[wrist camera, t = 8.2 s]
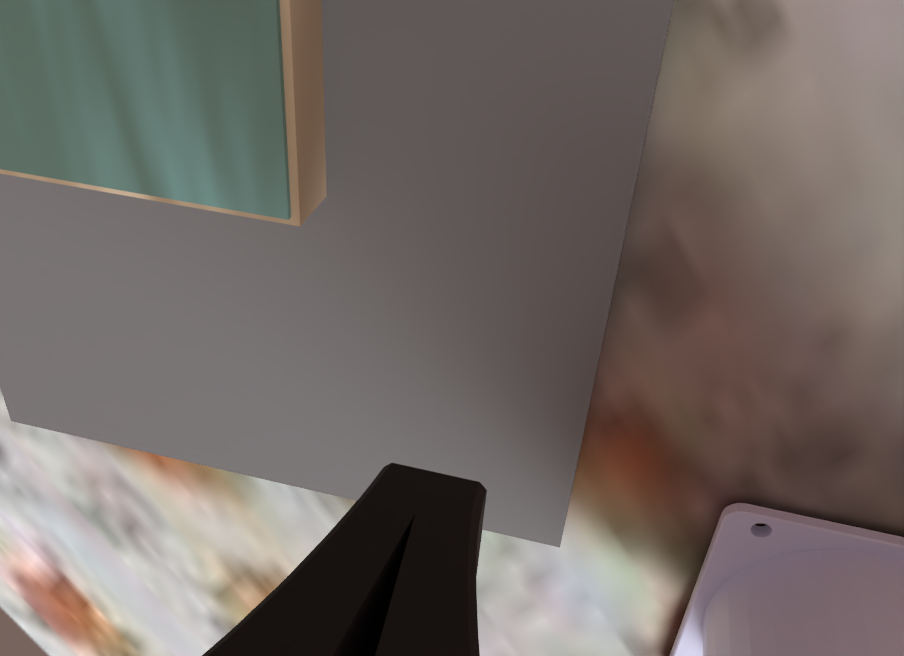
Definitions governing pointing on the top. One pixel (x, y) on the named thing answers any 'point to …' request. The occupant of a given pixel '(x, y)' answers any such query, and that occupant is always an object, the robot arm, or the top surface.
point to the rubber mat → (365, 268)
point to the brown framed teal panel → (168, 101)
